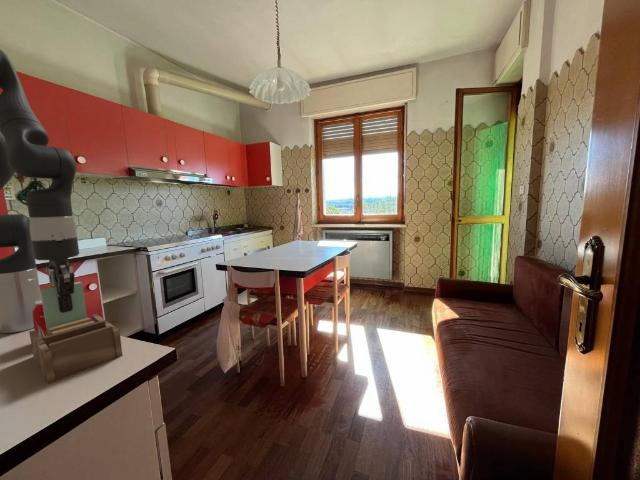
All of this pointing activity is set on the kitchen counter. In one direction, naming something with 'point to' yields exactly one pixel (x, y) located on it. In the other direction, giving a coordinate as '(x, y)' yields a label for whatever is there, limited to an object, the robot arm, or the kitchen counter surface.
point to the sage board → (53, 312)
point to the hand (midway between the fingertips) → (65, 310)
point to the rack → (76, 349)
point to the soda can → (39, 318)
